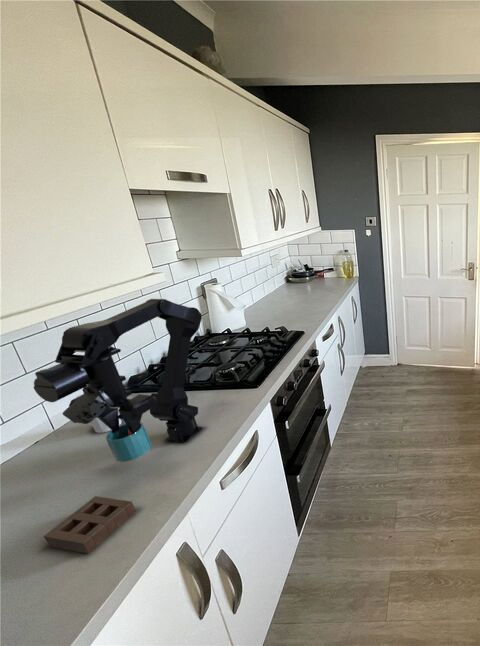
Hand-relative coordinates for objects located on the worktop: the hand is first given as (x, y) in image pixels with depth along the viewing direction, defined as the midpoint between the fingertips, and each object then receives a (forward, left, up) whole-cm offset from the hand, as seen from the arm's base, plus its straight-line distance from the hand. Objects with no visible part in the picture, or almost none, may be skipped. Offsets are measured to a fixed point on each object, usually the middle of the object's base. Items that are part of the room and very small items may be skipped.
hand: (125, 432), depth 86 cm
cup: (-14, -28, -12) cm, 34 cm away
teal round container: (0, 0, -6) cm, 6 cm away
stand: (+16, +6, -12) cm, 21 cm away
